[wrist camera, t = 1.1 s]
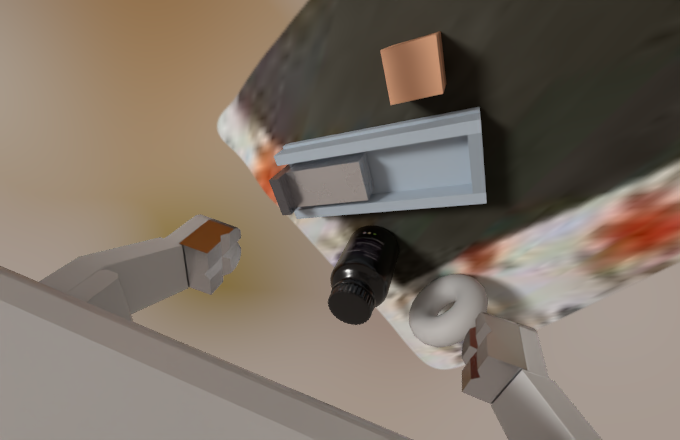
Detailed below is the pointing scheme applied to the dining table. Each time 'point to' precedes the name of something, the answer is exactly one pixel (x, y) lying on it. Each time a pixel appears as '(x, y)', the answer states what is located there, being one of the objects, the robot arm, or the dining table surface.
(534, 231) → the dining table surface
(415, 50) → the block
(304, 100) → the dining table surface
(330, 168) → the grey block
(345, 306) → the supplement bottle
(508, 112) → the dining table surface
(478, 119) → the channel
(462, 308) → the donut
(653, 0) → the dining table surface
